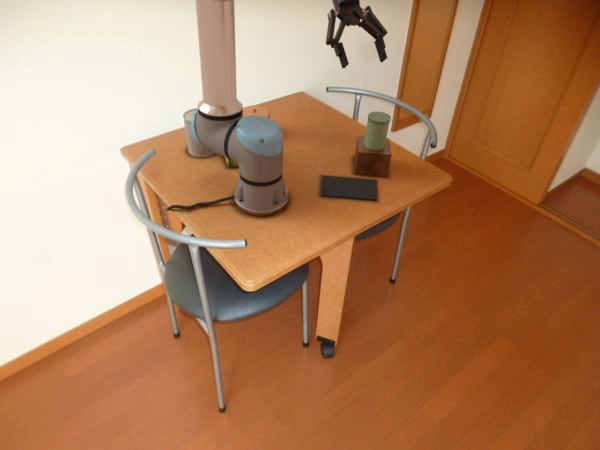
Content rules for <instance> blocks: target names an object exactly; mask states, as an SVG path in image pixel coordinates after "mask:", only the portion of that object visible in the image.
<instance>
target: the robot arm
mask: <svg viewBox="0 0 600 450" xmlns="http://www.w3.org/2000/svg"><path fill="white" fill-rule="evenodd" d="M194 1H195V11H196V13H195V14H196V25H197V38H198V52H199V63H200V77H201V89H202V99H201V100H200V101H199V102H198V103H197V109H196V108H195V109H196V110H195V111H194V113H193V115H194V117H193V118H191V133H192V136H193V138H194V139H195V141H196V142H197V143H198V144H199V145H201V146H203V147H204V148H205V149H207V150H209V151H212V152H215V154H217V155H220V156H221V157H223V158H224V159H225V158H227V159H229V160H232V161H234V162H236V163H238V165H239V166H238V172H239V173H238V174H239V178H238V181H237V183H236V186H235V189H234V192H233V195H231V196H226V197H223V198H219V199H216V200H212V201H205V202H203V201H202V202H196V203H194V204H192V205H181V204H171V205H170V206H168V207H167V208H166V209H165V211H166V212H168V211H170V210H172V209H181V210H192V209H195V208H198V207H201V206H202V207H203V206H212V205H215V204H216V205H217V204H219V203H222V202H227V201H231V200H234V205H235V206H236V208H237V209H238V210H239V211H241V212H242V213H245V214H246V215H250V216H254V217H255V216H256V217H266V216H272V215H275V214H278V213H280V212H281V211H283V210H284V209H285V208H286V207H287V205H288V204H289V190H288V185H287V184H286V182H285V180H284V177H283V166H284V165H283V164H284V148H285V147H284V146H285V142H284V134H283V133H284V132H283V129H282V127H281V126H280V124H279V123H278V122H277V121H276V120H274V119H272V118H271V117H270V118H268V117H265V116H257V115H250V116H246V117H243V108H244V105H243V103H242V102H241V101H240V100H239V99H238V97H237V95H238V94H237V93H238V91H237V55H236V51H237V50H236V19H235V17H236V15H235V0H194ZM331 1H332V2H331V3H332V4H333V8H331V9H330V10H329V12H328V13H327V15H326V16H327V21H328V23H327V31H326V37H325V45H326V46H330V48H331V49H333V51H334V53H335V55H336V57H337V58H338V60H339V63H340V66H341V69H345V68H347V66H348V65H349V63H350V62H349V60H348V57H347V53H346V50H345V47H344V43H343V42H342V41H340V40H341V38H342V35H343V33H344V30H345V28H346V27H348V28H349V27H351V26H353V27H356V26H357V27H359V28H362V29H363V30H364V31H365V32H366V33H367V34H368V35H370V36H371V37H372V38H373V39H374V42H373V43H374V45H375V49H376V53H377V56H378V59H379V62H380V63H383V62H385V61H386V60H387V59H388V55H387V53H386V47H387V46H386V43H385V40H384V37H385V36H386V35H387V34H388V30H387V29H386V28H385V26H384V25H383V24H382V23H381V21H380V20H379V19H378V17H377V16H376V15H375V14H374V12H373V9H372V7H371V6H370V5H367V6H366V7H363V8H362V7H361V1H360V0H331ZM337 19H338V20H339V24H338V28H337V30H336V32H335V28H336V21H337Z"/></svg>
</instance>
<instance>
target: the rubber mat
mask: <svg viewBox="0 0 600 450" xmlns="http://www.w3.org/2000/svg"><path fill="white" fill-rule="evenodd" d="M321 197H326V198H338V199H339V198H340V199H351V200H361V201H375V202H376V201H378V197H377V187H376V179H369V178H357V177H345V176H335V175H322V184H321Z"/></svg>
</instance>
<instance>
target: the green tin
mask: <svg viewBox="0 0 600 450" xmlns="http://www.w3.org/2000/svg"><path fill="white" fill-rule="evenodd" d="M391 121H392V117H391V115H390V114H388V113H386V112H384V111H370V112H369V113H368V114H367V122H366V127H365V135H364V136H365V140H364V145H365V147H367V148H368V149H371V150H381V149H383V148H384V147H385V142H386V138H388V132H389V126H390V123H391Z"/></svg>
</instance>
